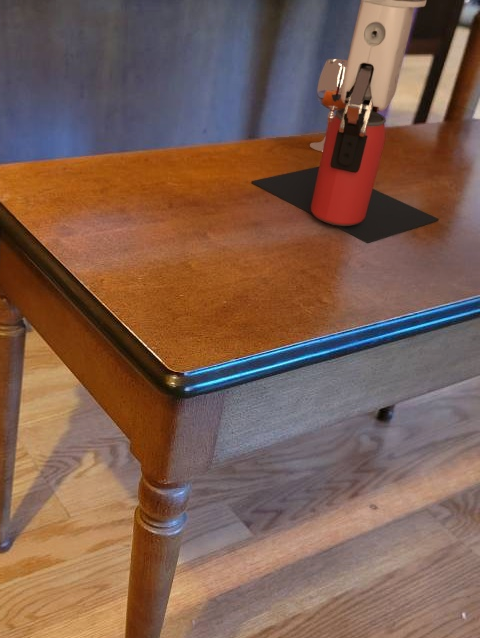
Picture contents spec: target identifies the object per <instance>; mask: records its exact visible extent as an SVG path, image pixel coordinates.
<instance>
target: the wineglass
mask: <svg viewBox="0 0 480 638" xmlns="http://www.w3.org/2000/svg"><path fill="white" fill-rule="evenodd" d="M347 61H348V59H340V58H328V59H326V61H325V62H324V65H323V68H322V70H321V72H320V75H319V78H318V81H317V85H316V98H317V100H318V102H319V103H320V105H322V106H323V107H324V108H326V109H328V110H329V112H328V114H327V115H326V116H327V118H326V119H327V121H326V123H327V124H326V129H325V135H324V138H323V139H322V140H321V141H313V142H311V143H309V147H310V148H311V149H313V150H315V151H317V152H323V148H324V143H325V138H326V134H327V130H328V127H329V125H330V123H331V122H332V120H333V118H334V117H335V112H336V111H337V110H338V109H341V108H345V106H346V104H344V103H343V102H342V100H341V93H342V86H343V81H344V76H345V71H346V66H347Z"/></svg>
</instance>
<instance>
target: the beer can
mask: <svg viewBox="0 0 480 638" xmlns="http://www.w3.org/2000/svg"><path fill="white" fill-rule="evenodd" d="M344 110H345V108H341V109H338V110H335V114H334V118H333V120H332V122H331V123H330V125H329V127H328V130H327V129H326V130H327V134H326V133H325V134H326V138H325V143H324V148H323V152H322V153H321V157H320V162H319V166H318V167H319V171H318V176H317V181H316V185H315V190H314V195H313V199H312V204H311V211H312V213H313V214H314V215H313V216H314V217H315V218H316V219H318V220H320V221H321V222H324V223H325V224H328V225H332V224H333V225H332V226H334V225H338V226H352V225H356V224H358V223H360V222H362V221H363V219H364V218H365V216H366V212H367V209H368V205H369V201H370V197H371V193H372V189H374V185H375V182H376V177H377V174H378V171H379V166H380V162H381V158H382V155H383V151H384V148H385V144H386V127H385V123H386V121H387V120H386V117H385V116H384V115H383V114H381V113H379V112H378V113H377V112H374V111H372V112H371V116H370V119H369V123H368V126H367V130H366V133H365V135H366V136H367V140H366V145H365V149H364V153H363V157H362V161H361V165H360V169H359V171H358V172H356V173H354V172H349V171H344V170H340V169H335V168H332V167H331V165H330V164H331V159H332V155H333V150H334V146H335V141H336V137H337V132H338V130H339V128H340V124H341V121H342V117H343V114H344ZM361 114H363V117H364V116H365V112H361Z"/></svg>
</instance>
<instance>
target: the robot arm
mask: <svg viewBox="0 0 480 638" xmlns="http://www.w3.org/2000/svg"><path fill="white" fill-rule="evenodd" d="M426 4H427V0H360V3H359V7H358V13H357V17H356V19H355V20H356V21H355V24H354V30H353V34H352V37H351V38H352V39H351V43H350V47H349V52H348V56H347V66H346V71H345V76H344V81H343V86H342V93H341V100H342V102H343V103H344V104H346V106H345V110H344V114H343V117H342V121H341V124H340V128H339V130H338V132H337V137H336V141H335V146H334V150H333V155H332V159H331V164H330V165H331V167H332V168H335V169H340V170H344V171H349V172H354V173H356V172H358V171H359V169H360V165H361V161H362V157H363V153H364V149H365V145H366V140H367V136H366V135H365V133H366V130H367V126H368V123H369V119H370V116H371V112H372V111H374V112H377V113H379V112H383V111H385V110H386V109H387V108H388V107H389V105H390V103H391V102H392V100H393V98H394V97H395V94H396V91H397V87H398V83H399V78H400V74H401V70H402V65H403V61H404V58H405V54H406V53H405V52H406V49H407V45H408V40H409V37H410V33H411V29H412V28H411V27H412V24H413V23H412V22H413V17H414V12H415V8H424V7H425V6H426ZM361 112H365V116H364V117H363V114H361Z"/></svg>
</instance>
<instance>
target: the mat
mask: <svg viewBox="0 0 480 638" xmlns="http://www.w3.org/2000/svg"><path fill="white" fill-rule="evenodd" d="M318 171H319V166H315V167H310V168H305V169H302V170H297V171H292V172H287V173H282V174H277V175H273V176H268V177H264V178H259V179H255V180H251V182H250V183H251V184H252V185H254V186H256V187H257V188H260V189H262V190H263V191H266V192H268V193H269V194H272V195H273V196H275V197H278V198H279V199H281V200H283V201H285V202H287V203H288V204H291V205H293V206H295V207H296V208H298V209H301V210H303V211H305V212H307V213H308V214H309V215H312V216H314V214H313V213H312V211H311V204H312V199H313V195H314V190H315V185H316V181H317V176H318ZM439 219H440V218H438V217H436V216H433V215H431V214H430V213H426V212H425V211H423V210H421V209H418V208H416V207H413V206H412V205H410V204H408V203H406V202H403V201H401V200H399V199H396V198H394V197H392V196H390V195H388V194H385V193H383V192H381V191H379V190H377V189H375V188H373V189H372V193H371V197H370V201H369V205H368V209H367V212H366V216H365V218H364V219H363V221H362V222H360V223H358V224H356V225H352V226H338V225H333V224H331V225H332V226H334V227H336V228H337V229H339V230H341V231H344V232H345V233H347V234H349V235H351V236H352V237H355V238H357V239H358V240H361V241H363V242H365V243H367V244H370V243H372V242H377V241H379V240H382V239H385V238H389V237H392V236H395V235H398V234H402V233H405V232H409V231H412V230H414V229H418V228H420V227H424V226H427V225H430V224H433V223H436V222H439Z"/></svg>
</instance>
